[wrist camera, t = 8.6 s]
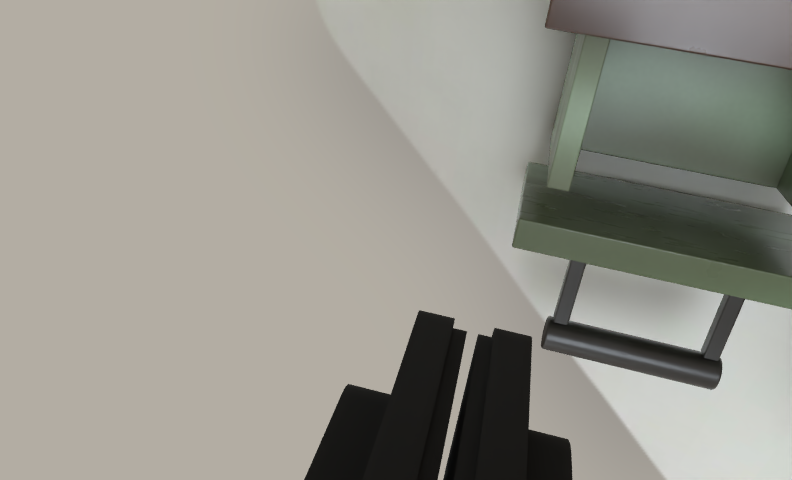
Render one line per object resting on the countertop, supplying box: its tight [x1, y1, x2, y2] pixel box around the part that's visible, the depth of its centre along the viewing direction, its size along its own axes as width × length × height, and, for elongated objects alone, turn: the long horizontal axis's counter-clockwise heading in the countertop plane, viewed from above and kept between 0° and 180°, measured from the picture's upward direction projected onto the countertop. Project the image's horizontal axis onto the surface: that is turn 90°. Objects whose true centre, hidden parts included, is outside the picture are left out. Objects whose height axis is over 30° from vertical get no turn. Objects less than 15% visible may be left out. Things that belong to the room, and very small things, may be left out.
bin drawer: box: [512, 34, 792, 390], centre depth 25 cm, size 19×11×7 cm, turn 172°
